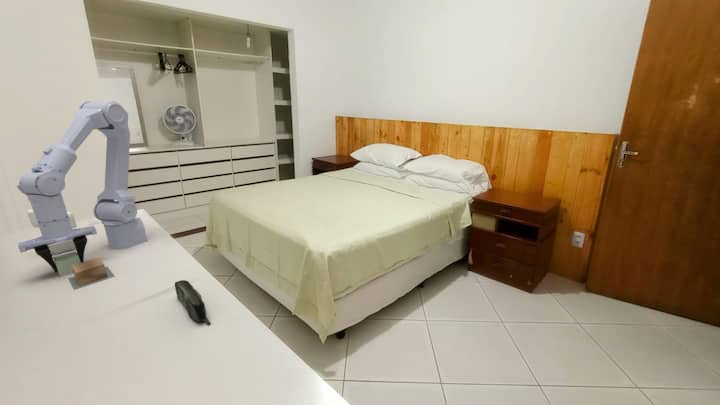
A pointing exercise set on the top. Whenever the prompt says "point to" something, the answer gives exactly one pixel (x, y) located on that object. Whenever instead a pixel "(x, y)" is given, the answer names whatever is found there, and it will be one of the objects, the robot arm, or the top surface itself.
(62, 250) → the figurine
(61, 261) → the green cube
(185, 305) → the dark grey elongated piece
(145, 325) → the top surface
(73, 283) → the base tile
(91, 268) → the walnut block
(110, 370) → the top surface
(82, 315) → the top surface
